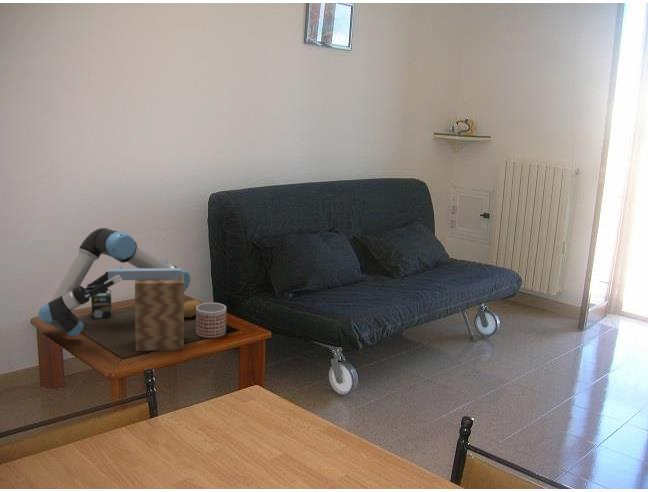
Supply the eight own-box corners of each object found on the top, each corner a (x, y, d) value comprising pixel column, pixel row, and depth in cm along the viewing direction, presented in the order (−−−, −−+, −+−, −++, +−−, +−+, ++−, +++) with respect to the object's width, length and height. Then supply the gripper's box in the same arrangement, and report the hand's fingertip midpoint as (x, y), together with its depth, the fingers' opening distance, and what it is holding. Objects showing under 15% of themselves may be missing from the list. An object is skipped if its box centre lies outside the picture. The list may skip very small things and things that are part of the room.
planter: (191, 330, 303) (192, 304, 300) (219, 326, 309) (220, 301, 306) (201, 340, 291) (201, 313, 288) (230, 336, 298) (230, 310, 295)
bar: (108, 280, 271) (107, 271, 270) (109, 277, 274) (108, 268, 274) (181, 279, 277) (181, 270, 277) (181, 276, 281) (181, 267, 280)
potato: (206, 315, 323) (206, 300, 321) (185, 322, 312) (185, 306, 310) (193, 310, 328) (193, 295, 327) (171, 317, 317) (171, 302, 315)
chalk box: (111, 311, 321) (111, 283, 318) (111, 317, 312) (111, 288, 309) (92, 312, 318) (91, 283, 315) (91, 318, 310) (90, 289, 306)
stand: (135, 350, 275) (134, 283, 268) (137, 338, 289) (136, 274, 282) (183, 349, 280) (184, 282, 273) (183, 337, 293) (183, 273, 286)
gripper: (66, 299, 258) (114, 273, 260) (75, 281, 282) (119, 257, 284) (77, 314, 261) (124, 289, 262) (85, 295, 284) (128, 272, 286)
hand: (121, 272), depth 273 cm, fingers open, 13 cm apart
